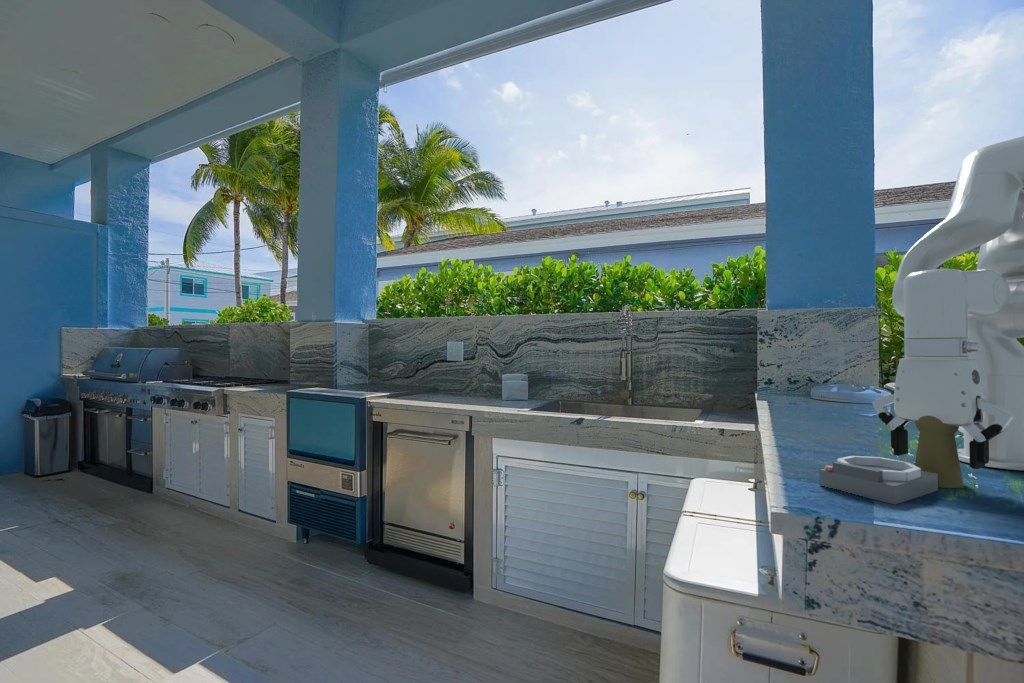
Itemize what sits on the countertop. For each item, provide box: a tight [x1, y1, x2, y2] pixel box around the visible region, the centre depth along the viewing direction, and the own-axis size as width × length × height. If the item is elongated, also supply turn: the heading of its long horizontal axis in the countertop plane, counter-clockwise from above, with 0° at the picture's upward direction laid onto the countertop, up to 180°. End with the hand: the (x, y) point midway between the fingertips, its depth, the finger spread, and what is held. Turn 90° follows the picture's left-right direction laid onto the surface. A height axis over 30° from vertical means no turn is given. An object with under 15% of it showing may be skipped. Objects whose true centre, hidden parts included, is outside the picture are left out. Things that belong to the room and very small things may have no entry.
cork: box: [914, 416, 965, 489], centre depth 76 cm, size 6×6×11 cm
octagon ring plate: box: [819, 455, 939, 505], centre depth 74 cm, size 12×10×4 cm
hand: (937, 460), depth 76 cm, fingers open, 9 cm apart
